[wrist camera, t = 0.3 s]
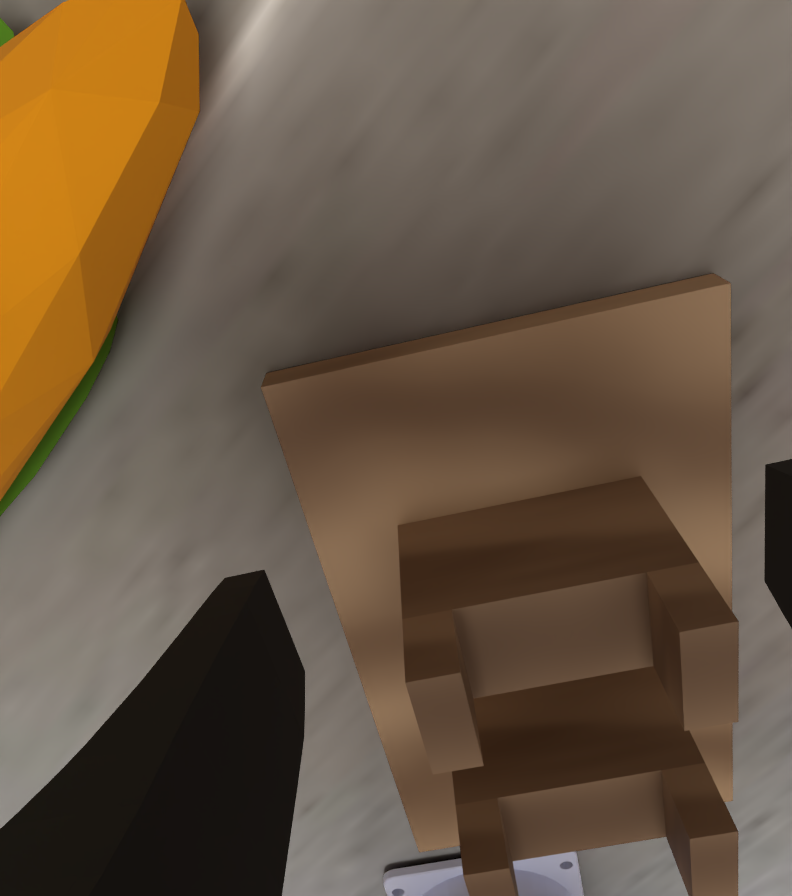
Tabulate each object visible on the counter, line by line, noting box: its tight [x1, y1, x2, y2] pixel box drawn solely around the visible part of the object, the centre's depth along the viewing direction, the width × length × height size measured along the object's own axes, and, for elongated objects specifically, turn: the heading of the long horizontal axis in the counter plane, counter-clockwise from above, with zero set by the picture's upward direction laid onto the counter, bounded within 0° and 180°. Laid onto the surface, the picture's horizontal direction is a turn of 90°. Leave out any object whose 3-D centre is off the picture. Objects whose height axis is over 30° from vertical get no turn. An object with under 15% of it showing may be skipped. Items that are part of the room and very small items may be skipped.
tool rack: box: [261, 273, 739, 896], centre depth 20 cm, size 20×12×7 cm, turn 13°
